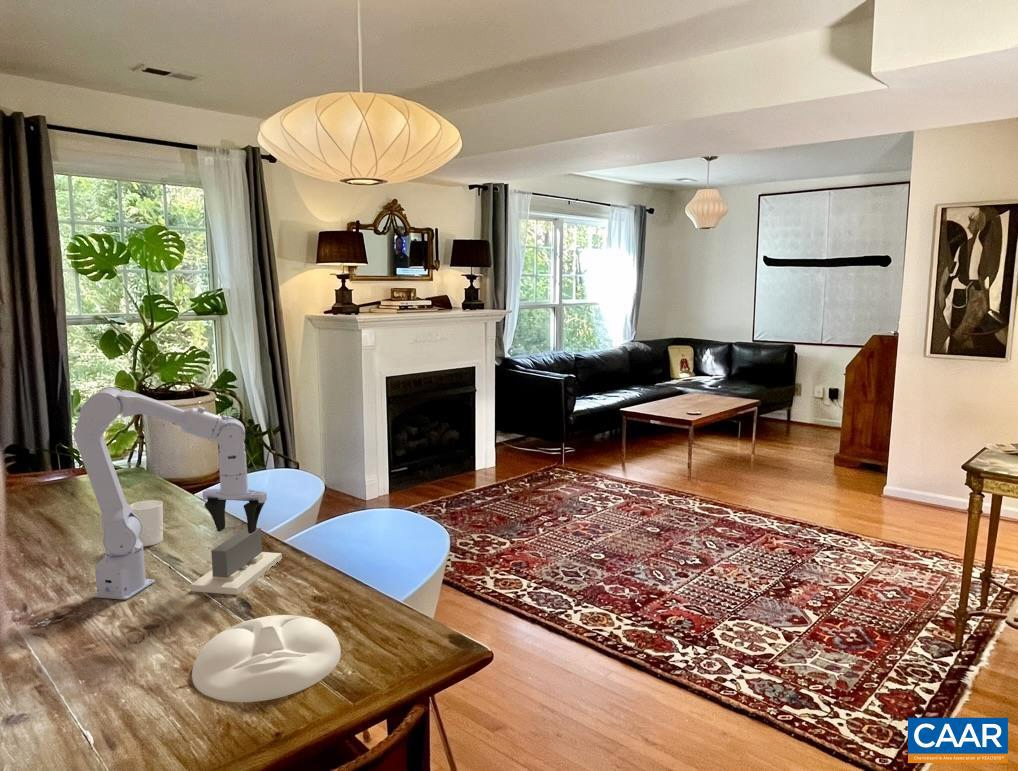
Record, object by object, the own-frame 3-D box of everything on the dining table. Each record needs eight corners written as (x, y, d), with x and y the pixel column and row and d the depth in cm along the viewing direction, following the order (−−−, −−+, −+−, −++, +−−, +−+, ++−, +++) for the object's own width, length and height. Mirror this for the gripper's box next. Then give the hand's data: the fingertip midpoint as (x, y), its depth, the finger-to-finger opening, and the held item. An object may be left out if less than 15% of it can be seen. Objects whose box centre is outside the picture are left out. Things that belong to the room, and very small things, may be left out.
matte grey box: (227, 577, 154) (226, 551, 153) (212, 576, 154) (211, 550, 153) (262, 552, 168) (261, 528, 167) (248, 551, 169) (247, 527, 168)
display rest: (237, 594, 151) (237, 583, 150) (190, 591, 153) (190, 580, 152) (282, 559, 170) (281, 549, 170) (240, 556, 172) (239, 546, 172)
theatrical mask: (184, 670, 108) (192, 602, 131) (188, 718, 109) (195, 642, 132) (349, 640, 117) (329, 581, 140) (350, 685, 118) (331, 619, 141)
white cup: (140, 550, 176) (137, 511, 175) (125, 543, 181) (122, 505, 179) (171, 540, 182) (168, 503, 181) (156, 534, 187) (153, 498, 186)
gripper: (272, 469, 161) (274, 526, 163) (213, 467, 163) (217, 523, 165) (256, 478, 154) (259, 537, 156) (195, 475, 156) (199, 533, 158)
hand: (236, 530), depth 160 cm, fingers open, 7 cm apart
